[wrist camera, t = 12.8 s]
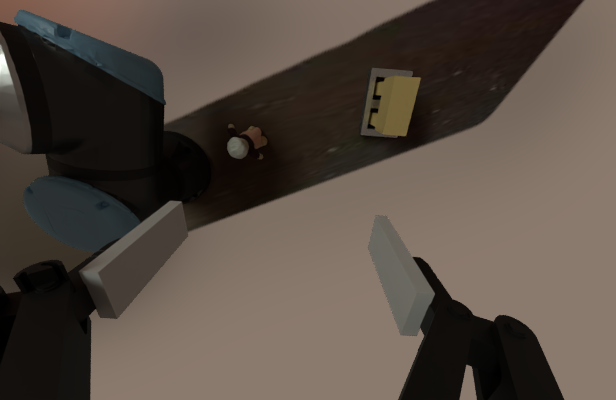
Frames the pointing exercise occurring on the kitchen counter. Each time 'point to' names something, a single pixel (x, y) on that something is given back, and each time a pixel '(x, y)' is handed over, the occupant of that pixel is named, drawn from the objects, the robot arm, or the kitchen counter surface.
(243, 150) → the grandmother figurine
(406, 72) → the grey flat frame
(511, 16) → the kitchen counter surface
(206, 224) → the kitchen counter surface
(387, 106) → the yellow notched block
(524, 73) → the kitchen counter surface
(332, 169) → the kitchen counter surface
